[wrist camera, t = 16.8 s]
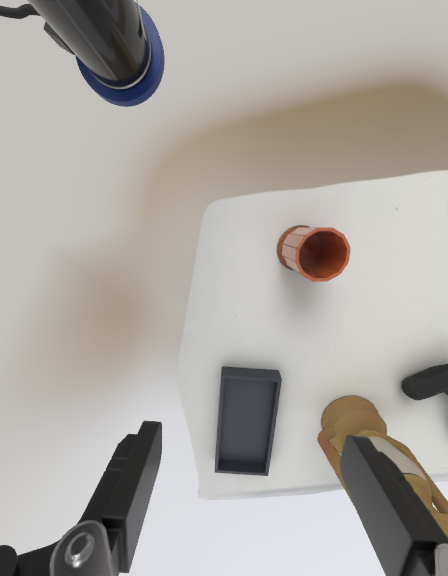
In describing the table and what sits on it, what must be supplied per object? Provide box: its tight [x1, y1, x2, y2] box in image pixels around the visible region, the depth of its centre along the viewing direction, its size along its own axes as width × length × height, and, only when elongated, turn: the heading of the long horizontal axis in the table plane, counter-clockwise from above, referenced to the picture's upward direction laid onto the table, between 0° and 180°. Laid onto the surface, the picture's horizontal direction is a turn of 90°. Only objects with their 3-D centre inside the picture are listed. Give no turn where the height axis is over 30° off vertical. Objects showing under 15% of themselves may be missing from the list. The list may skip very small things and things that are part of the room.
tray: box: [215, 367, 282, 476], centre depth 45 cm, size 21×10×3 cm, turn 176°
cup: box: [280, 227, 350, 281], centre depth 33 cm, size 6×6×9 cm
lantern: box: [318, 396, 448, 537], centre depth 31 cm, size 15×10×30 cm
